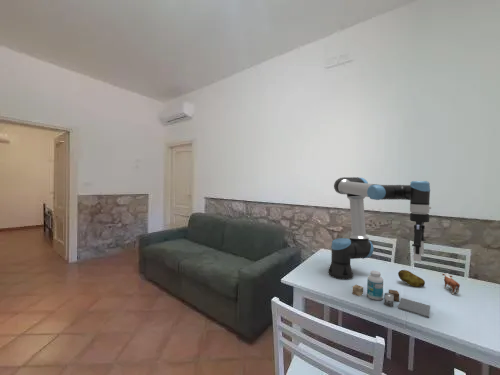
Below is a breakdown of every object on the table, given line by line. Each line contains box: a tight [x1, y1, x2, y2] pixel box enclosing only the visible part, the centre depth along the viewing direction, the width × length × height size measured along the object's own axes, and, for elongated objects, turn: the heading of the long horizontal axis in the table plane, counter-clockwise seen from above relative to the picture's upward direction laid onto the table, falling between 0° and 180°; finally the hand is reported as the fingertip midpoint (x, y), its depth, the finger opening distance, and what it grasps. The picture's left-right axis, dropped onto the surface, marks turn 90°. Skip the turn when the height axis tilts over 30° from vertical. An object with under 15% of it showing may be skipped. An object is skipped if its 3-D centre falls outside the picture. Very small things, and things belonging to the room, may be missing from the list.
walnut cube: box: [388, 289, 400, 302], centre depth 121 cm, size 4×4×4 cm
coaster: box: [397, 297, 431, 319], centre depth 113 cm, size 12×12×1 cm
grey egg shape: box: [383, 292, 395, 308], centre depth 116 cm, size 4×4×5 cm
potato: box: [397, 269, 426, 288], centre depth 138 cm, size 8×13×8 cm, turn 44°
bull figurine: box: [441, 272, 460, 295], centre depth 132 cm, size 4×13×8 cm, turn 161°
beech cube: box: [351, 284, 364, 297], centre depth 127 cm, size 4×4×4 cm
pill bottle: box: [366, 270, 384, 301], centre depth 123 cm, size 8×7×14 cm
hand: (418, 257), depth 111 cm, fingers open, 13 cm apart
